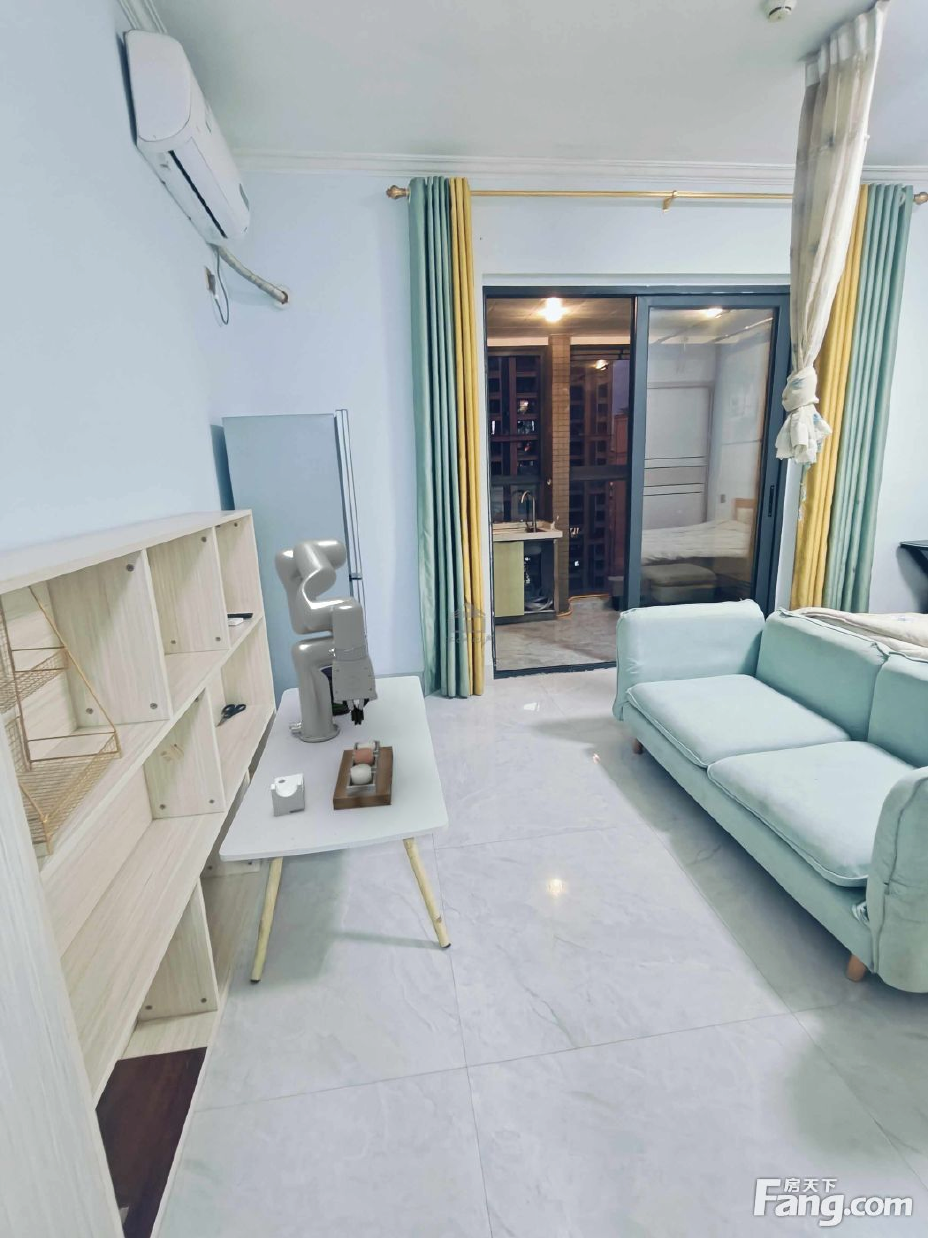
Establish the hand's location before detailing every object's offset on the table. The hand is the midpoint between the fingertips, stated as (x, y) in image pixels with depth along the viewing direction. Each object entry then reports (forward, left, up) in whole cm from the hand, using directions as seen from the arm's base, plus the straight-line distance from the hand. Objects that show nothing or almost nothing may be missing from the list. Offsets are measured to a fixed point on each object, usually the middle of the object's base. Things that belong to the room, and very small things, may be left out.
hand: (358, 722), depth 144 cm
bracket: (-19, +1, -20) cm, 28 cm away
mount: (0, +7, -20) cm, 21 cm away
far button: (0, +16, -17) cm, 23 cm away
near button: (0, -2, -15) cm, 15 cm away
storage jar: (-13, +57, -20) cm, 62 cm away
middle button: (0, +7, -15) cm, 16 cm away
